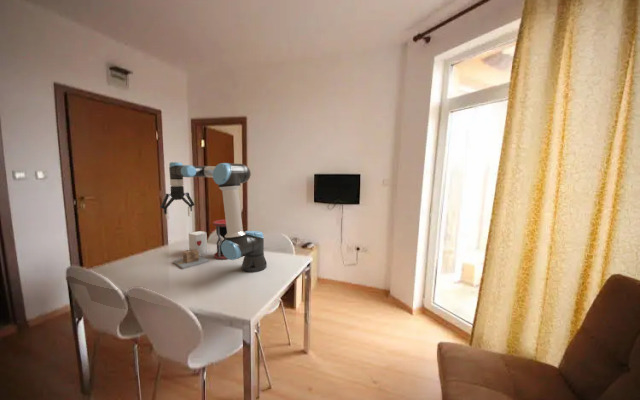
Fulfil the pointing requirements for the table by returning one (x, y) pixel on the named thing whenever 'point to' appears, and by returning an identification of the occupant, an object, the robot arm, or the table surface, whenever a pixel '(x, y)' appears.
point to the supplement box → (198, 241)
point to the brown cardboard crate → (190, 255)
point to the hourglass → (222, 231)
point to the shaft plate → (190, 264)
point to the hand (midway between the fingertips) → (178, 217)
